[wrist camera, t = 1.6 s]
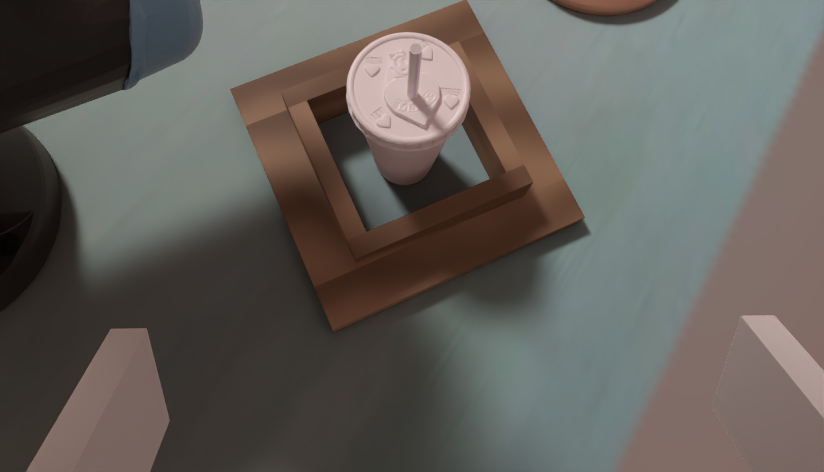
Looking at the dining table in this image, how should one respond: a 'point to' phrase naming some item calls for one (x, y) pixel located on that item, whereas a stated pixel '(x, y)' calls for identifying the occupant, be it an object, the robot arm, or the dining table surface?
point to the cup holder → (420, 230)
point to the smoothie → (407, 101)
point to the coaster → (605, 6)
